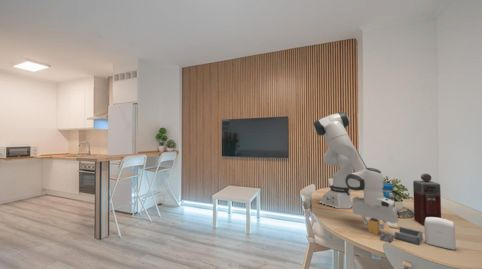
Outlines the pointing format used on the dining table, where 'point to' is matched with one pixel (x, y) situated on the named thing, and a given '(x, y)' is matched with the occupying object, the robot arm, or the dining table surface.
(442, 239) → the photo printer
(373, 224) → the block
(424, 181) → the dark red decanter
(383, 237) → the clip
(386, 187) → the beverage bottle
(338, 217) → the dining table surface
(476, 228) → the dining table surface
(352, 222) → the dining table surface
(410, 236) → the end holder
